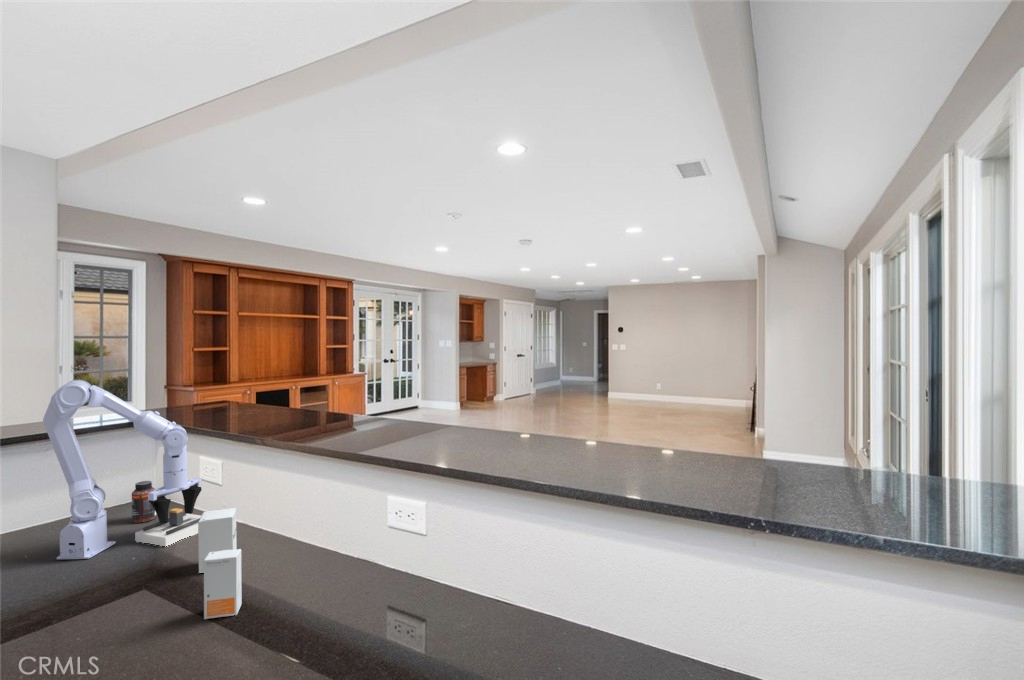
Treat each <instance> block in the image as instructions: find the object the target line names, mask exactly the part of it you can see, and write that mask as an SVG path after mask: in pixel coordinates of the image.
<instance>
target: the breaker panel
mask: <svg viewBox="0 0 1024 680" xmlns="http://www.w3.org/2000/svg"><path fill="white" fill-rule="evenodd" d="M201 516H202V514H201V515H200V514H194V513H192V514H188V513H185V511H183V524H181V525H178V526H176V525H169V523H170V521H169V517H168V522H167V523H166V524H163V523H160V522H159V521H157V522H155V523H153V524H150V525H147V526H144V527H142V529H141V530H139V531H136V532H135V534H134V538H135V539H134V542H135V541H136V542H135V543H139V542H142V543H141V544H144V543H150V544H155V545H154V546H156V545H160V546H159V547H162V546H165V547H164V548H167V547H169V546H168V545H170V546H172V545H174V544H176V543H175V542H177V541H179V540H181V539H184V538H186V539H188V538H190V537H189V536H191V537H193V536H195V535H198V521H199V520H200V518H201ZM187 537H188V538H187ZM184 540H185V539H184ZM181 541H182V540H181ZM179 542H180V541H179ZM173 543H174V544H173ZM177 543H178V542H177ZM150 544H149V545H150ZM171 544H172V545H171ZM166 546H167V547H166Z"/></svg>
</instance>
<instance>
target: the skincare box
mask: <svg viewBox="0 0 1024 680" xmlns="http://www.w3.org/2000/svg"><path fill="white" fill-rule="evenodd" d="M242 589H243V588H242V548H238V549H234V550H223V551H216V552H209V554H208V555H207V557H206V558H205V560H204V574H203V619H204V620H208V619H215V618H222V617H230V616H231V617H234V615H235V616H237V615H238V614H239V610H240V608H241V606H242V604H243V603H242V601H243V600H242V598H243V595H242Z"/></svg>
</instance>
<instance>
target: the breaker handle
mask: <svg viewBox="0 0 1024 680" xmlns="http://www.w3.org/2000/svg"><path fill="white" fill-rule="evenodd" d="M183 513H184V509H183V508H179V507H174V508H171V509H168V518H169V521H170V523H169V525H176V526H178V525H181V524H183Z"/></svg>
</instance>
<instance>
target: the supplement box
mask: <svg viewBox="0 0 1024 680" xmlns="http://www.w3.org/2000/svg"><path fill="white" fill-rule="evenodd" d="M197 535H198V537H197V538H198V546H197V547H198V574H199V573H204V560H205V558H206V557H207V555H208V554H209V552H216V551H223V550H234V549H237V548H238V547H237V542H238V541H237V507H230V508H223V509H216V510H215V509H214V510H209V511H203V512H202V514H201V518H200V520H199V521H198V533H197Z"/></svg>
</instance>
